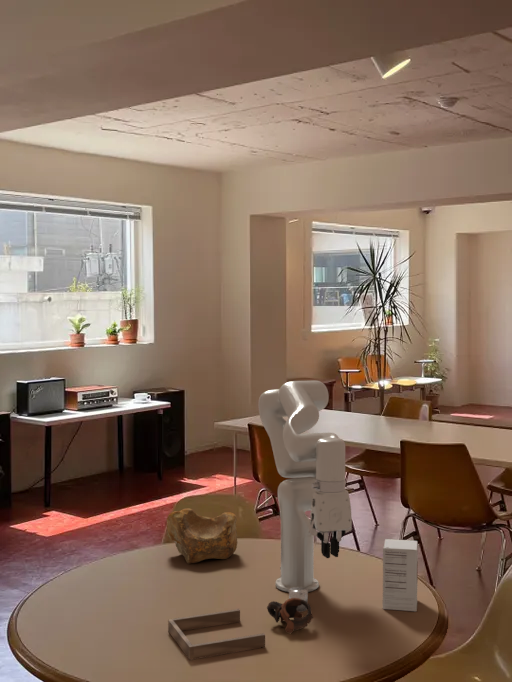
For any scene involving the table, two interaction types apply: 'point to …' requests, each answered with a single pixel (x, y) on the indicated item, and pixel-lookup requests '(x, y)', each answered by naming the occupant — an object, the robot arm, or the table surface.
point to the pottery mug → (290, 613)
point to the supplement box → (400, 574)
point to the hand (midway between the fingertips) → (330, 555)
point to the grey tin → (299, 596)
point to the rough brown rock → (202, 535)
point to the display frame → (216, 646)
